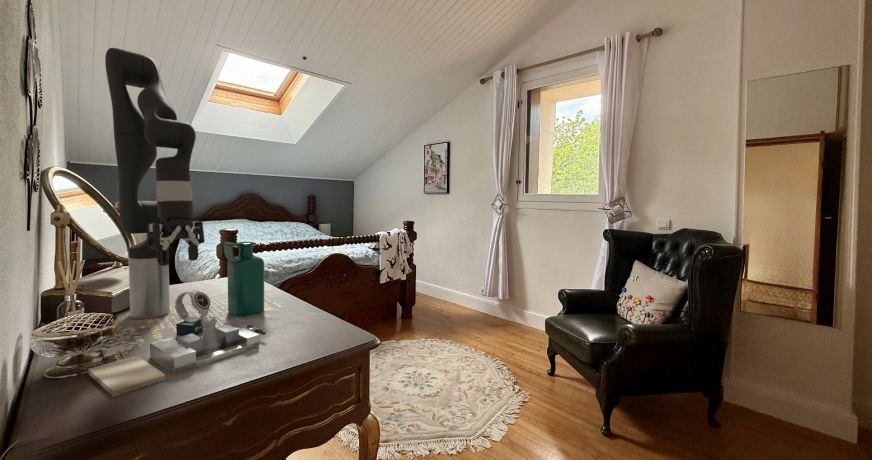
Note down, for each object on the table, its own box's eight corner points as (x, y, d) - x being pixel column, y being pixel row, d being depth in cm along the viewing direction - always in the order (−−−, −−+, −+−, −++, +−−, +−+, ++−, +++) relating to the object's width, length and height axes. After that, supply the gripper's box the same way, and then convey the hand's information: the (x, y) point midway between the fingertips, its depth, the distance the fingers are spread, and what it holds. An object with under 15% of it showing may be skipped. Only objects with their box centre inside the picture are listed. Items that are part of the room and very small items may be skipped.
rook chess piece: (204, 347, 89) (204, 314, 88) (224, 347, 89) (223, 315, 88) (194, 355, 84) (193, 321, 84) (214, 355, 85) (214, 321, 84)
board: (88, 373, 74) (88, 368, 74) (137, 360, 81) (137, 355, 81) (113, 396, 67) (113, 391, 66) (165, 379, 73) (165, 374, 73)
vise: (150, 358, 82) (149, 338, 82) (245, 331, 100) (245, 315, 99) (174, 374, 75) (174, 353, 75) (271, 342, 93) (271, 325, 93)
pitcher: (252, 306, 121) (252, 239, 119) (266, 311, 116) (266, 241, 114) (220, 313, 113) (220, 241, 111) (234, 319, 108) (234, 244, 106)
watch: (200, 337, 94) (199, 295, 93) (170, 335, 95) (169, 293, 94) (214, 329, 100) (214, 289, 99) (186, 327, 100) (185, 287, 99)
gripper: (187, 200, 103) (190, 258, 104) (135, 199, 89) (140, 267, 90) (210, 199, 101) (213, 259, 102) (160, 198, 87) (165, 267, 88)
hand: (179, 262), depth 96 cm, fingers open, 8 cm apart
